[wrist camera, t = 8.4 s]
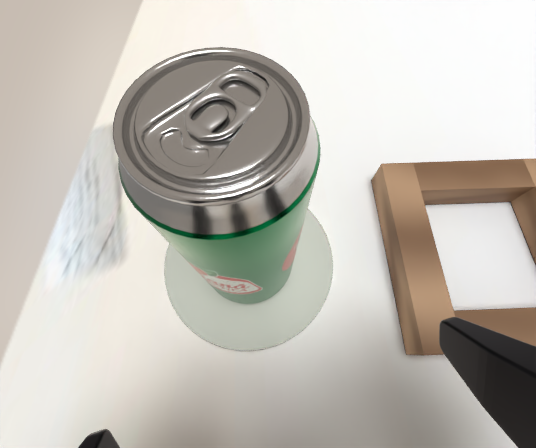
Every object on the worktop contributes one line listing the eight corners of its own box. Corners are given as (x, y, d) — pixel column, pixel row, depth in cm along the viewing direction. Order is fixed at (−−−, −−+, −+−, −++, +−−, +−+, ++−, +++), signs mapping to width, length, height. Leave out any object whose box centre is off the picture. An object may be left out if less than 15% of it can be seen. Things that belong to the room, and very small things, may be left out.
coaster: (341, 346, 16) (343, 346, 16) (159, 354, 16) (155, 354, 16) (321, 188, 20) (323, 184, 20) (174, 193, 20) (172, 189, 19)
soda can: (188, 269, 17) (43, 130, 6) (243, 208, 19) (205, 9, 8) (255, 324, 16) (221, 274, 5) (308, 254, 18) (372, 97, 7)
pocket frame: (605, 346, 16) (648, 346, 14) (406, 354, 16) (424, 355, 14) (528, 175, 20) (554, 158, 19) (371, 180, 20) (381, 163, 18)
